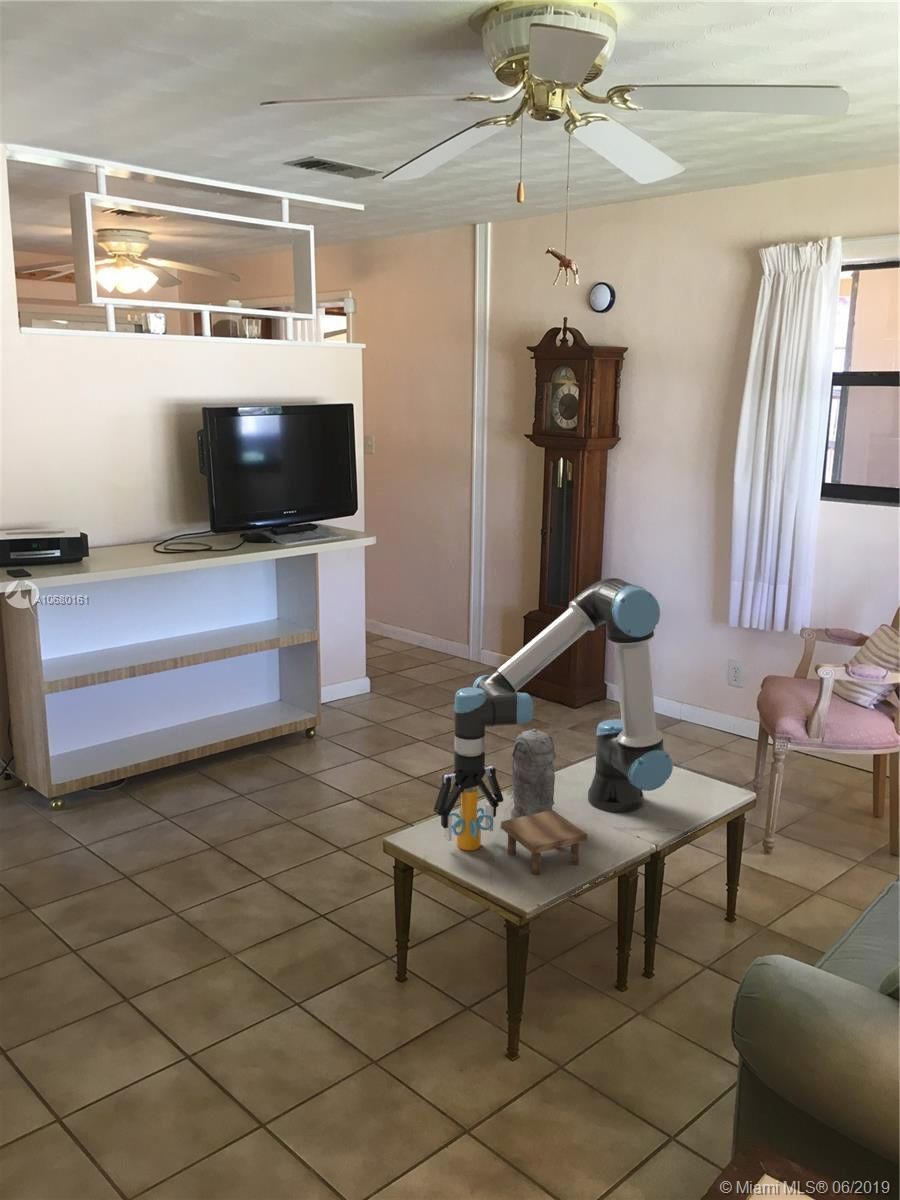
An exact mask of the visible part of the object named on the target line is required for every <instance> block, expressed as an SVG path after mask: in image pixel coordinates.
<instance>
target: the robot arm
mask: <svg viewBox="0 0 900 1200" xmlns="http://www.w3.org/2000/svg"><path fill="white" fill-rule="evenodd" d="M660 617H661V608H660V604H659V603H658V601H657V598H656V597H655V596H654V594H652V593H651V592H649V591H648V590H647V589H646V588H644V587H643V586H639V585H636V584H632V583H630V582H627V581H625V580H623V579H620V578H617V577H616V578H615V577H610V578H609V577H607V578H603V579H601V580H598V581H597V582H595V583H593V584H592V585H591V584H590V586H588V587H587V588H586V589H584V590H583V591H581V592H580V593H578V595H576V596H575V597H574V598H573V599H572V600H571V601H569V604H568V608H567V609H566V610H565V611H564V612H563V613H562V614H560V615H559V616H558V617H557V618H556V619H555V620H554V621H553V620H552V622H551V623H550V624H549V625H548V626H546V627H545V628H543V630H542V631H541V632H539V634H537V635H536V636H535V637H534V638H532V639H531V640H530V641H529V642H528V643H527V644H525V645H524V647H522V648H521V649H520V650H518V651H517V652H516V653H515V654H514V655H513V656H512V657H510V658H509V659H508V660H506V662H504V663H503V664H502V665H501V666H500V667H499V668H497V669H496V670H495V671H493V673H491V674H490V675H489V674H485V675H481V676H479V677H478V678H476V679H475V681H474V682H473V685H472V687H462V688H459V690H457V691H456V692H455V694H454V706H453V711H454V712H453V713H454V720H453V721H454V734H453V735H454V737H453V738H454V742H453V743H454V744H453V745H454V746H453V747H454V753H453V765H454V771H453V773H451V774H450V773H449V774H447V773H443V774H442V777H441V779H442V780H441V781H442V783H441V786H440V789H439V792H438V796H437V798H436V802H435V804H434V808H433V812H434V813H435V814H436V815H438V816H440V826H441V827H442V828H443V837H444V839H446V841H448V842H452V839H453V828H452V825H453V815H452V816H451V815H450V813H451V812H452V810H453V809H454V807H455V805H456V803H457V801H458V800H459V798H460V797H461V793H463V791H464V789H468V788H471V787H475V788H478V789H479V790H480V791H481V793H482V794H483V796H484V797H485V798H486V801H488V802H489V803H488V802H487V803H485V814H488V815H490V816H491V817H492V819H493V820H494V818H495V817H496V816H497V808H498V807H499V806H500V805H499V803H503V802H504V796H503V793H502V791H501V787H500V785H499V782H498V779H497V777H496V776H497V769H496V767H493V766H492V765H491V764H488V765H487V767H485V765H486V753H485V750H486V728H490V727H492V728H493V727H500V726H510V725H511V726H512V725H516V726H518V725H521V724H527V723H529V722H531V721H532V719H533V716H534V704H533V700H532V697H531V696H530V694H529V693H527V692H517V691H518V690H520V689H521V688H522V687H523V686H525V685H526V684H527V683H528V682H529V681H530V680H531V679H532V678H534V677H535V676H536V675H537V674H538V673H540V672H541V671H542V670H543V669H544V668H545V667H547V666H548V665H549V664H551V662H553V661H554V660H555V659H556V658H557V657H559V656H560V655H561V654H562V653H563V652H564V651H565V650H566V649H568V648H569V647H570V646H571V645H572V644H574V643H575V642H576V641H577V640H578V639H579V638H581V637H582V636H583V635H584V634H585V633H587V631H595V630H596V629H598V627H599V626H601V625H603V624H605V628H606V629H605V630H606V638H607V641H608V642H609V643H611V644H612V645H613V648H614V657H615V658H614V659H615V668H616V677H617V687H618V698H619V700H618V701H619V707H620V719H619V718H616V719H615V718H614V719H607V720H603V721H601V722H599V723H598V725H597V729H596V735H595V736H596V743H595V744H596V746H595V747H596V749H595V771H594V775H593V779H592V782H591V784H590V787H589V789H588V792H587V801H588V802H589V804H590V805H592V806H593V807H595V808H597V809H599V810H603V811H607V812H612V813H613V812H614V813H627V812H633V811H637V810H638V809H640V808H641V807H642V806H643V804H644V793H643V791H647V792H649V791H650V792H651V791H655V790H657V789H659V788H661V787H662V786H664V785H665V784H666V781H668V780H669V779H670V777H671V775H672V772H673V770H674V767H673V766H674V763H673V760H672V757H671V756H670V754H669V753H668V752H667V751H665V748H664V747H665V746H664V745H665V744H664V736H663V733H662V731H660V730H659V729H658V728H657V726H656V715H655V714H656V713H655V704H654V703H655V702H654V691H653V680H652V678H653V677H652V670H651V669H652V668H651V656H650V645H649V642H650V641H651V640H653V638H654V637H655V629H656V626H657V625H658V624H659V622H660ZM485 775H486V776H487V779H488V782H489V785H490V787H491V791H492V793H491V791H490V790H489V789H488V787H487V786H486V783H485V782H484V781H483V778H484V776H485ZM452 784H453V785H452ZM484 820H485V826H484V827H488V826H489V825H490V820H489V819H488V818H487V817H484ZM488 831H489V832H491V833H492V832H494V825H493V826H492V827H491V828H490V829H489V830H488Z"/></svg>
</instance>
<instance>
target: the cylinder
mask: <svg viewBox="0 0 900 1200" xmlns="http://www.w3.org/2000/svg"><path fill="white" fill-rule="evenodd" d="M479 812H480V813H481V814H479ZM478 814H479V815H478ZM450 815H451V816H452V817H453V816H454V817H456V818H457V819H456V820H455V822H454V823H453V824H452V834H454V835H455V836H456V846H457V847H458V849H460V850H463V851H469V852H470V851H475V850H478V849H479V848H480V847H481V843H482V837H481V836H482V831H489V829H490V828H491V827H492V826H493V827H494V818H493V819H492V817H491V816H490V815H488V814H486V813H485V810H484V808H483V807H478V787H471V788H468V789H464V791H463V793H461V794H460V808H459V813H457V812H454V811H451V812H450ZM485 817H487V818H488V819H489V820H490V825H489V826H488V827H485V826H483V825H482V824H481V823H482V822H483V821H484V819H485ZM481 830H482V831H481Z"/></svg>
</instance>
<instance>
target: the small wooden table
mask: <svg viewBox="0 0 900 1200" xmlns="http://www.w3.org/2000/svg"><path fill="white" fill-rule="evenodd" d="M500 829H502V830H503V831H504V832H505V833H506V834H507V854H508V855H509V856H515V855H516V854H517V842H518V843H519V844H520V845H521V846H523V848H525V849H527V850H528V851H529V852H530V853H531V875H534V876H539V875H540V874H541V856H542V855H541V854H542V853H543V852H548V851H552V850H557V849H559V848H560V849H561V848H564V847H567V846H570V858H569V859H570V864H571V865H574V866H575V865H579V863H580V860H579V859H580V843H584V842H588V833H587V832H586V831H584V830H582V829H581V828H580V827H578V826H577V825H575V824H574V823H572V822H571V821H569V820H568V819H567V818H565V817H564V816H563V815H561V814H560V813H558V812H557V811H555V810H554V809H552V810H550V811H545V812H541V813H536V814H532V815H528V816H523V817H519V818H515V819H511V818H510V819H506V820H502V821H500Z"/></svg>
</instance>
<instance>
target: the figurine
mask: <svg viewBox="0 0 900 1200" xmlns="http://www.w3.org/2000/svg"><path fill="white" fill-rule="evenodd" d="M511 756H512V757H513V759H512V762H511V763H512V765H511V766H512V768H511V769H512V773H511V774H512V777H511V780H512V781H511V782H512V786H511V791H512V793H513V804H514V805H513V808H512V809H511V810H510V815H509V816H510V819H515V818H519V817H523V816H528V815H532V814H536V813H541V812H545V811H550V810H553V806H554V805H555V801H554V795H555V779H556V774H555V771H554V769H555V767H554V764H553V761H554V760H555V759H556V756H557V755H556V753H555V744H554V741H553V738H552V736H551V735H549V734H547V733H546V732H544V731H541V730H537V729H536V728H533V729H532V730H531V729H530V730H526V731H525V730H523V731H522V732H521V733H519V735H518V736H517V738H516V740H515V744H514V747H513V750H512V753H511Z"/></svg>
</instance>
